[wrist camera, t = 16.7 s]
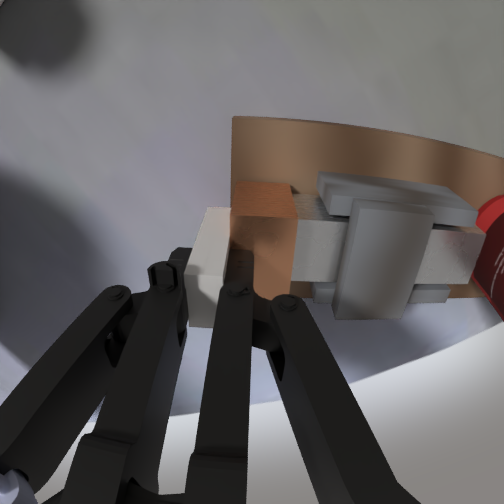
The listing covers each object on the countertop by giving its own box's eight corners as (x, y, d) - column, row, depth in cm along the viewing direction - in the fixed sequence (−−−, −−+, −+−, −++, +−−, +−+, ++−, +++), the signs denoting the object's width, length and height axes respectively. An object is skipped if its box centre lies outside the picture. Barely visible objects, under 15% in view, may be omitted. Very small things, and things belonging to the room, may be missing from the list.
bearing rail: (231, 284, 24) (223, 351, 18) (233, 116, 18) (221, 134, 12) (504, 288, 24) (538, 333, 18) (544, 172, 18) (595, 204, 12)
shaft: (235, 253, 21) (229, 301, 17) (236, 181, 18) (229, 215, 14) (442, 262, 21) (472, 302, 17) (460, 201, 18) (500, 235, 14)
